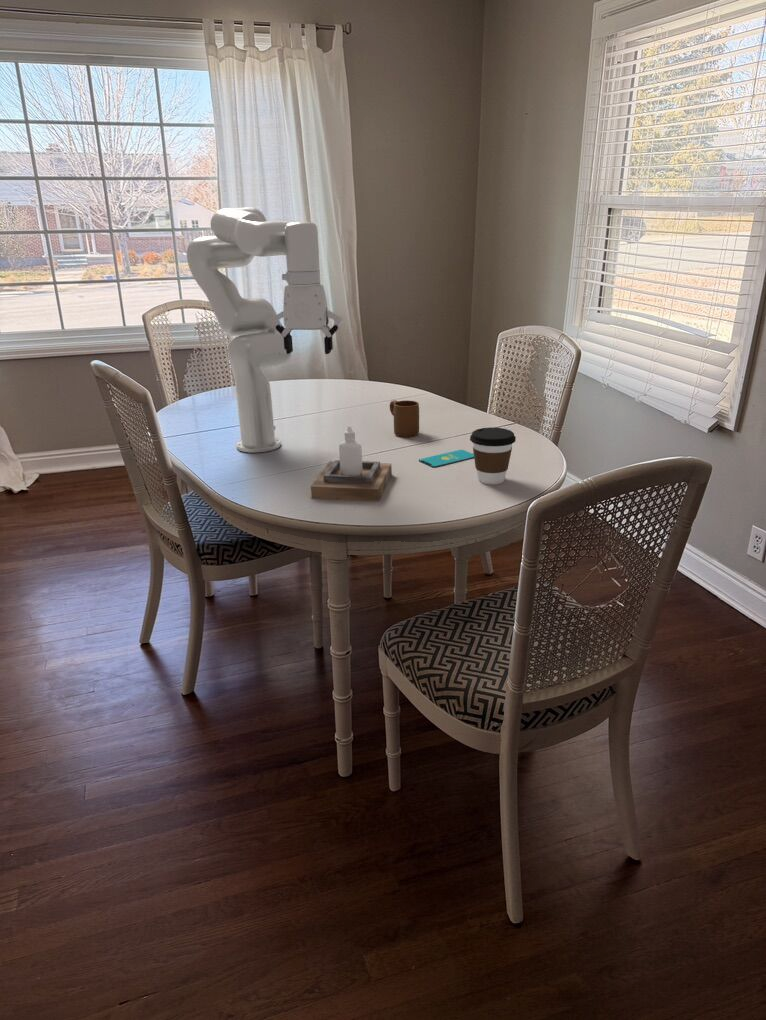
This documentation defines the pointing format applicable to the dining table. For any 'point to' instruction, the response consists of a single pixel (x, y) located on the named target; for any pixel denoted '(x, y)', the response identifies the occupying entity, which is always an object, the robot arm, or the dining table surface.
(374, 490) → the display stand
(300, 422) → the dining table surface
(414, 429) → the mug
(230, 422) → the dining table surface
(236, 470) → the dining table surface
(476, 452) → the coffee cup
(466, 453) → the smartphone
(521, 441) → the dining table surface
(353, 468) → the eye dropper bottle
